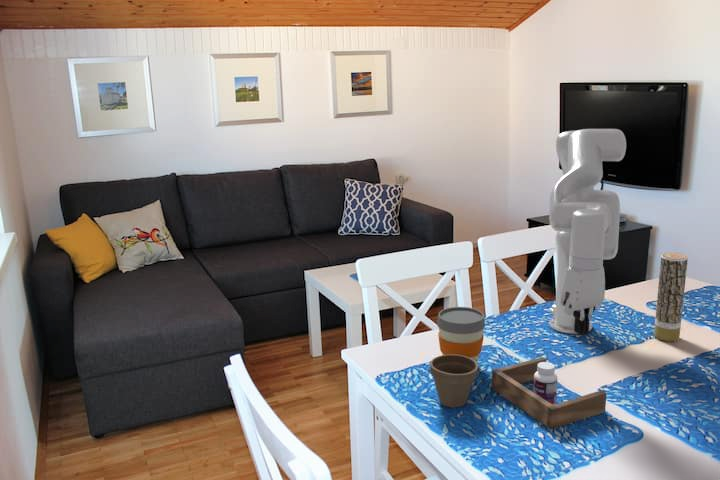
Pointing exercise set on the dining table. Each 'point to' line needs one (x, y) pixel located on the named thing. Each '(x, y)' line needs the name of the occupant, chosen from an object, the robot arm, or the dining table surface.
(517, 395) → the box
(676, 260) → the brown upright cylinder piece
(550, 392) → the pill bottle
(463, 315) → the reusable coffee cup
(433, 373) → the flower pot
